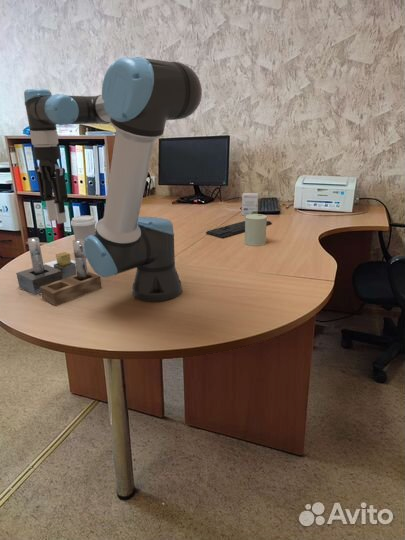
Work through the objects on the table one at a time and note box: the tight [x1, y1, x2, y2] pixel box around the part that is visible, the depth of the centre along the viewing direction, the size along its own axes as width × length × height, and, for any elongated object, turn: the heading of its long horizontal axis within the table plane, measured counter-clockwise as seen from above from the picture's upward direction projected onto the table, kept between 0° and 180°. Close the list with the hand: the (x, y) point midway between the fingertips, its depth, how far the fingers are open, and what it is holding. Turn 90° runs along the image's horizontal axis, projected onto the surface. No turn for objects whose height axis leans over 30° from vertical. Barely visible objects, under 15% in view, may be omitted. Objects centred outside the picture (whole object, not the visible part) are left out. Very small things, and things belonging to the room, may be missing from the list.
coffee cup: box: [70, 215, 97, 256], centre depth 152 cm, size 10×10×15 cm
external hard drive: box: [43, 259, 76, 267], centre depth 143 cm, size 2×8×12 cm
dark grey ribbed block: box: [205, 220, 273, 240], centre depth 187 cm, size 35×11×2 cm, turn 133°
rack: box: [40, 271, 102, 307], centre depth 119 cm, size 16×7×4 cm, turn 140°
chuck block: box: [16, 262, 77, 296], centre depth 127 cm, size 10×16×5 cm, turn 141°
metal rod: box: [27, 237, 45, 276], centre depth 123 cm, size 3×3×16 cm
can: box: [244, 213, 268, 247], centre depth 164 cm, size 9×9×12 cm
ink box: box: [241, 192, 259, 217], centre depth 212 cm, size 8×5×12 cm, turn 82°
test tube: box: [72, 239, 89, 281], centre depth 120 cm, size 3×3×16 cm
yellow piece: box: [55, 251, 72, 267], centre depth 130 cm, size 3×3×6 cm
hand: (57, 221), depth 125 cm, fingers open, 5 cm apart
